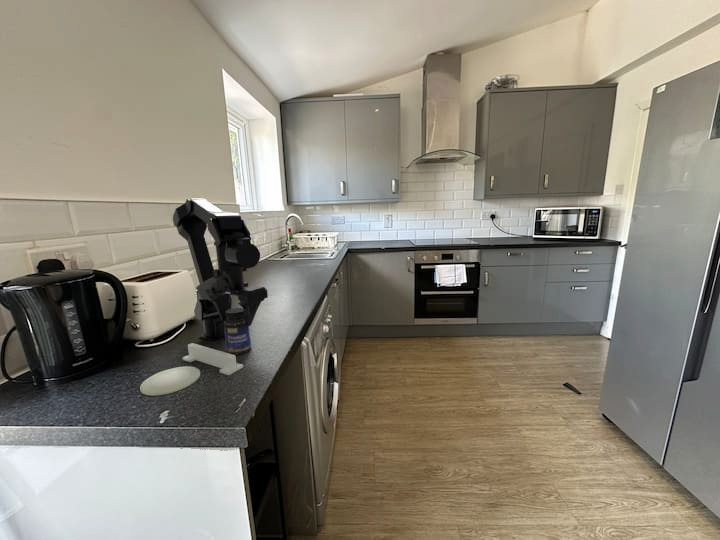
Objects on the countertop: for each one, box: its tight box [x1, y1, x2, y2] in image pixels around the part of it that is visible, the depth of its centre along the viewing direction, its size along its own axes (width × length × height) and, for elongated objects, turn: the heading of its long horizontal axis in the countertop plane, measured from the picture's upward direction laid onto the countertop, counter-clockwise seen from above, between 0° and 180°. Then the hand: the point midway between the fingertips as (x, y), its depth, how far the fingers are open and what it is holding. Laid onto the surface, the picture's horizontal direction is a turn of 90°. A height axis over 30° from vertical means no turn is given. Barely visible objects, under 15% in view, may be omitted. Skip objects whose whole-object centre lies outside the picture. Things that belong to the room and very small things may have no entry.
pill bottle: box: [224, 307, 252, 356], centre depth 78 cm, size 6×6×11 cm
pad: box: [139, 365, 201, 397], centre depth 64 cm, size 11×11×1 cm
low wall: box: [182, 342, 244, 376], centre depth 71 cm, size 17×4×4 cm, turn 62°
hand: (236, 323), depth 77 cm, fingers open, 9 cm apart
